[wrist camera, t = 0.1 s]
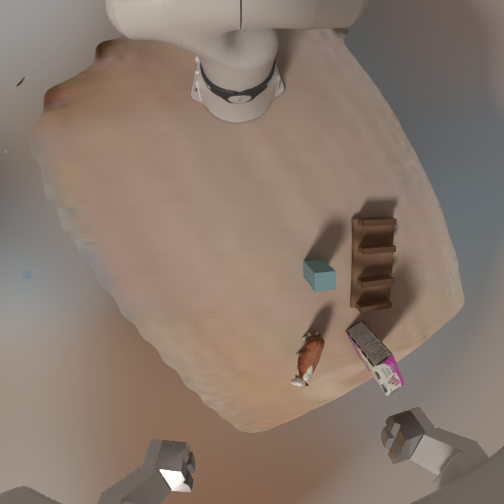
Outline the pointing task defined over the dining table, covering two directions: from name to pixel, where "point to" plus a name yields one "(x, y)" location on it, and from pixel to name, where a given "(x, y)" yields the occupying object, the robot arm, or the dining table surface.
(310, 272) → the teal rectangular block
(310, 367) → the bull figurine
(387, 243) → the rack
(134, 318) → the dining table surface
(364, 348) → the candy bar box
